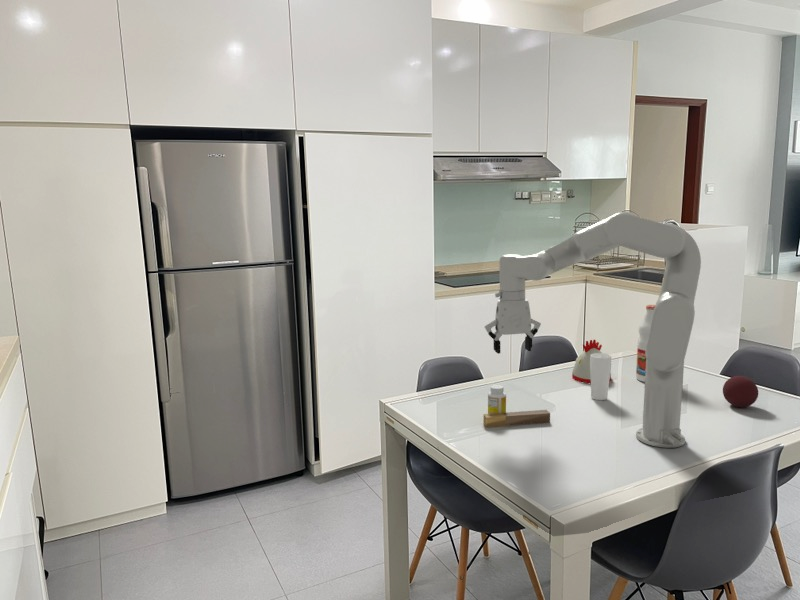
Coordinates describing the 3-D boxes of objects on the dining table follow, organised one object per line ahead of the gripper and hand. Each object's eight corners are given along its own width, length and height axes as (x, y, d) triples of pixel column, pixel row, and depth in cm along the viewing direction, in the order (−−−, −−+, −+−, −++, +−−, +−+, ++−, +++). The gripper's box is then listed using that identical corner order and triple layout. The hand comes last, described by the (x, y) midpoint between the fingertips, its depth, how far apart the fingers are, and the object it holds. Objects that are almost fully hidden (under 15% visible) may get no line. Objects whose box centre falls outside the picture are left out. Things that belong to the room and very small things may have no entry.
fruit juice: (664, 378, 224) (668, 304, 219) (662, 384, 216) (666, 308, 211) (637, 375, 228) (641, 302, 224) (634, 381, 220) (638, 307, 215)
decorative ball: (749, 414, 185) (752, 383, 184) (716, 406, 193) (718, 376, 191) (762, 406, 192) (764, 376, 190) (729, 399, 199) (731, 370, 198)
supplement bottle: (503, 414, 188) (503, 383, 186) (507, 421, 183) (508, 389, 181) (486, 415, 188) (486, 384, 186) (489, 421, 182) (490, 389, 181)
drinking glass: (607, 395, 205) (608, 353, 203) (611, 401, 199) (613, 358, 196) (586, 394, 206) (588, 352, 203) (591, 401, 199) (592, 357, 197)
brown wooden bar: (550, 422, 181) (550, 413, 180) (486, 427, 178) (486, 417, 178) (546, 419, 184) (546, 409, 183) (483, 423, 181) (483, 414, 181)
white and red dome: (564, 375, 229) (566, 337, 226) (594, 371, 234) (595, 334, 231) (588, 385, 216) (589, 345, 214) (618, 381, 221) (620, 342, 218)
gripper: (488, 299, 174) (489, 356, 176) (544, 295, 176) (544, 352, 179) (480, 295, 181) (481, 350, 184) (535, 292, 184) (535, 346, 186)
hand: (512, 351), depth 181 cm, fingers open, 9 cm apart
